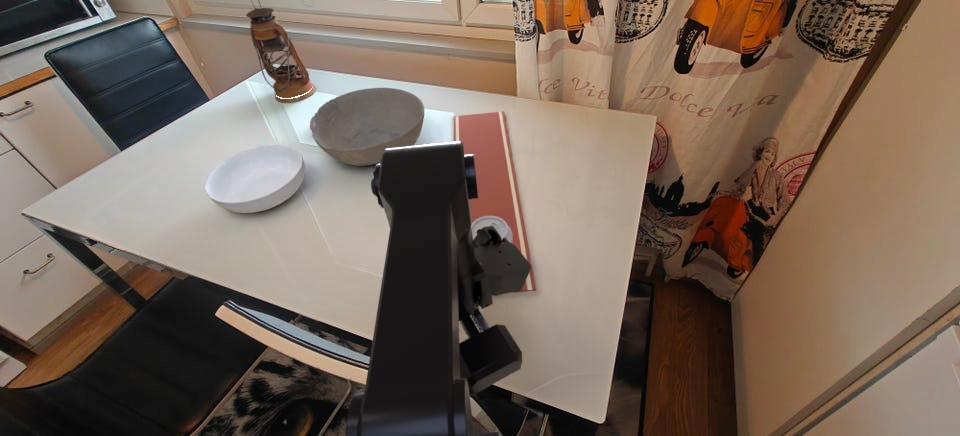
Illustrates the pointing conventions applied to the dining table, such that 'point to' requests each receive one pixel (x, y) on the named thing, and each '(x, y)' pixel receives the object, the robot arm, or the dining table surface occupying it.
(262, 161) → the serving bowl
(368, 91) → the bowl
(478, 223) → the can
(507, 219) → the red table runner
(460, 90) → the dining table surface
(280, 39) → the lantern
